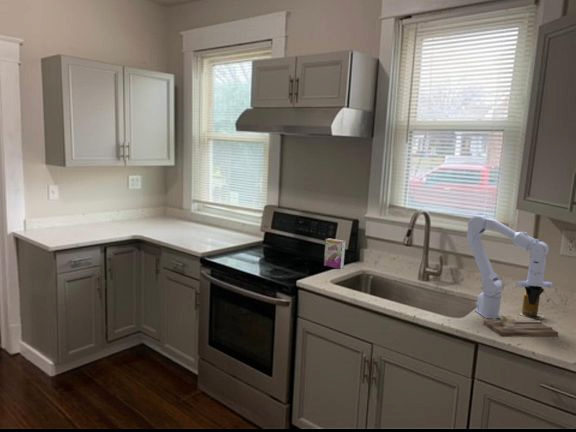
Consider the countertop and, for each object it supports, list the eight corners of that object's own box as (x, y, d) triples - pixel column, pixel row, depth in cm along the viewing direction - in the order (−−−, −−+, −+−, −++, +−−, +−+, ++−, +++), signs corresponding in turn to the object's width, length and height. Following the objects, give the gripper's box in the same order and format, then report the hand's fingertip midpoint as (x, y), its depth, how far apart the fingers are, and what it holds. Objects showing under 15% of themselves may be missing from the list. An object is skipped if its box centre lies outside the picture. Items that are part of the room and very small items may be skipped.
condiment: (523, 311, 199) (526, 285, 198) (544, 316, 194) (547, 290, 192) (518, 314, 194) (522, 288, 192) (539, 320, 188) (543, 293, 187)
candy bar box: (323, 266, 261) (325, 239, 259) (326, 264, 265) (328, 237, 263) (340, 269, 256) (342, 241, 253) (343, 267, 260) (345, 240, 258)
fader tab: (499, 323, 177) (501, 314, 176) (506, 323, 177) (507, 314, 177) (506, 328, 172) (507, 318, 172) (513, 328, 173) (514, 318, 172)
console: (483, 324, 180) (484, 318, 180) (536, 324, 183) (537, 318, 183) (501, 336, 168) (501, 330, 168) (557, 335, 172) (558, 330, 171)
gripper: (526, 274, 173) (522, 307, 174) (559, 274, 175) (555, 307, 176) (515, 269, 179) (510, 301, 181) (547, 270, 181) (542, 301, 183)
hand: (531, 304), depth 179 cm, fingers closed
